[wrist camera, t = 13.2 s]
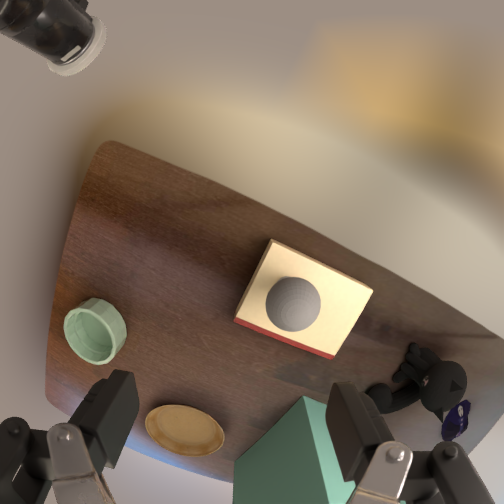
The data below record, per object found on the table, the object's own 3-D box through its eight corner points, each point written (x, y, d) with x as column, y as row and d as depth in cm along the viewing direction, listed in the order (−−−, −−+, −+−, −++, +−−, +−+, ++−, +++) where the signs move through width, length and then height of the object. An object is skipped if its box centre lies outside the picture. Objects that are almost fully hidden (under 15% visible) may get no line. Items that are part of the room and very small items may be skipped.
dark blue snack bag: (474, 394, 47) (482, 402, 43) (462, 431, 50) (469, 439, 46) (446, 410, 48) (454, 419, 44) (436, 445, 50) (442, 454, 46)
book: (234, 312, 42) (233, 321, 39) (271, 238, 40) (272, 242, 37) (327, 349, 43) (332, 360, 40) (366, 284, 41) (373, 290, 38)
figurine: (398, 330, 43) (444, 378, 28) (448, 343, 44) (493, 383, 29) (356, 403, 46) (382, 460, 31) (408, 408, 47) (439, 455, 32)
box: (310, 482, 51) (326, 568, 25) (234, 461, 49) (229, 564, 23) (380, 424, 47) (426, 518, 22) (302, 394, 45) (334, 523, 19)
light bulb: (286, 252, 37) (299, 274, 27) (317, 284, 38) (338, 314, 28) (252, 284, 38) (254, 315, 28) (284, 314, 39) (294, 352, 29)
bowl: (75, 294, 41) (59, 304, 36) (124, 300, 41) (111, 312, 36) (83, 344, 43) (70, 358, 38) (130, 353, 43) (119, 369, 38)
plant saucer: (136, 421, 46) (132, 429, 44) (172, 382, 44) (169, 391, 42) (197, 456, 48) (196, 465, 46) (241, 423, 46) (241, 433, 43)
